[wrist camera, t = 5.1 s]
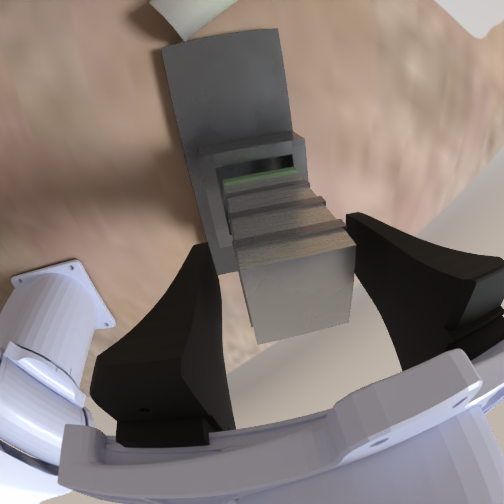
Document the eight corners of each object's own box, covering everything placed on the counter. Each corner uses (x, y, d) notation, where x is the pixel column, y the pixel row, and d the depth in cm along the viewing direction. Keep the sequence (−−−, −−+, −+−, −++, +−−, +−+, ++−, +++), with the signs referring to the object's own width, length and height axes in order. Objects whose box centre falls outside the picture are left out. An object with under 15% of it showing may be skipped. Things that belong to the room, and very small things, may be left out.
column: (235, 241, 17) (255, 346, 10) (222, 179, 14) (236, 268, 8) (299, 228, 17) (351, 323, 10) (294, 166, 14) (359, 241, 8)
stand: (216, 269, 23) (219, 304, 20) (163, 49, 14) (150, 40, 10) (300, 251, 23) (316, 283, 20) (274, 30, 14) (292, 18, 10)
